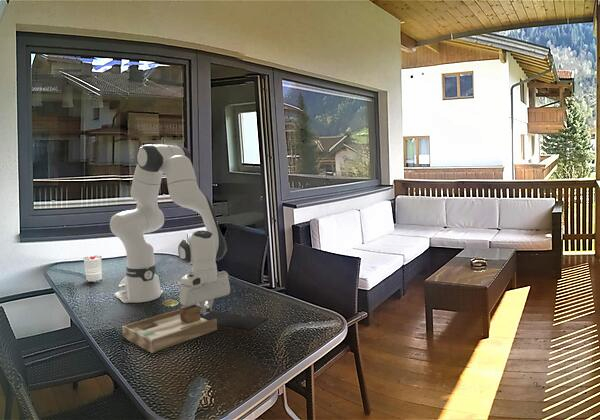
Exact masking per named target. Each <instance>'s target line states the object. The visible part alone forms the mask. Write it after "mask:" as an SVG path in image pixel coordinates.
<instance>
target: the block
mask: <svg viewBox="0 0 600 420" xmlns="http://www.w3.org/2000/svg"><path fill="white" fill-rule="evenodd" d="M200 307H201V306H200V305H197V304H195V305H192V306H188V307H186V306H183V305H181V306H180V307H179V309H180V317H181V321H183V322H186V323H188V324H189V323H192V322H195V321H198V320H200V313H201V308H200Z"/></svg>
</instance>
